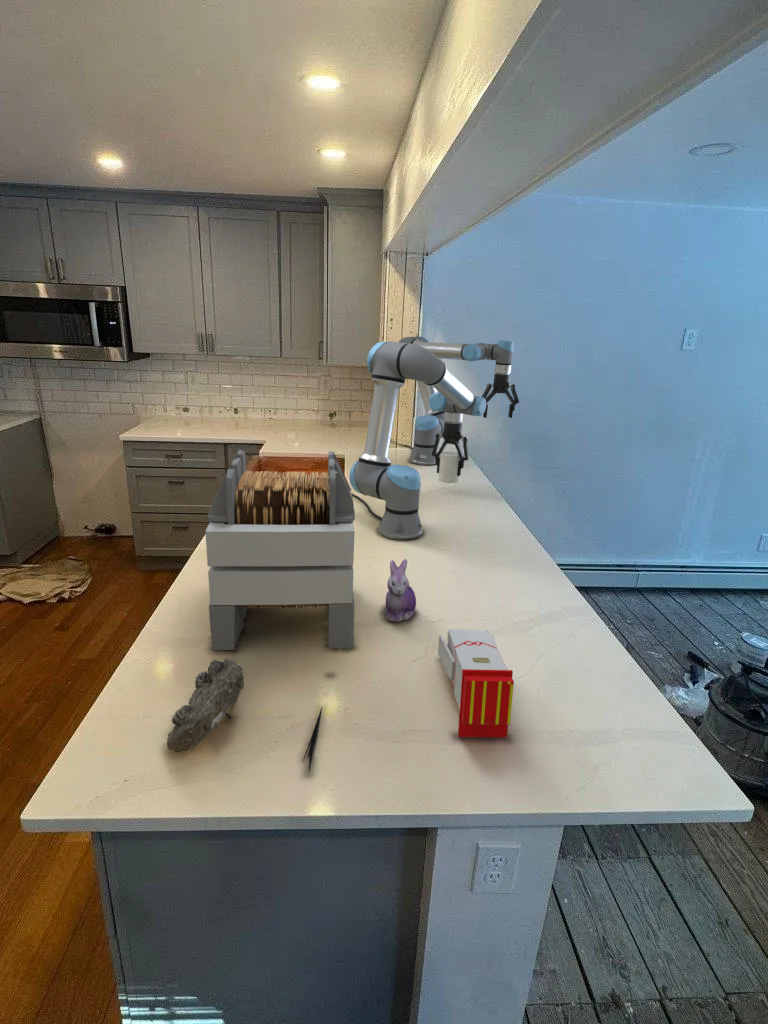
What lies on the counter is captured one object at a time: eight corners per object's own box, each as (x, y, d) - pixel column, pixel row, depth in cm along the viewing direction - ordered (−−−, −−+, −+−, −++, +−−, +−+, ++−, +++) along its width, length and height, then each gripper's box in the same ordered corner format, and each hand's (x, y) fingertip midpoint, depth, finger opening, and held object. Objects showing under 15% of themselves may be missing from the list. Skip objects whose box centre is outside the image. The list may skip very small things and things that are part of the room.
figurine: (392, 627, 141) (395, 572, 136) (374, 608, 149) (376, 556, 144) (425, 619, 145) (429, 566, 140) (405, 601, 154) (408, 550, 149)
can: (460, 479, 250) (462, 453, 246) (454, 484, 242) (457, 457, 238) (441, 476, 253) (443, 450, 249) (435, 481, 245) (437, 454, 241)
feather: (331, 679, 122) (336, 673, 122) (307, 777, 96) (313, 769, 95) (324, 675, 122) (329, 669, 121) (298, 772, 95) (304, 764, 95)
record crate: (231, 583, 159) (223, 441, 145) (347, 582, 163) (350, 443, 149) (209, 653, 127) (196, 479, 114) (354, 649, 131) (359, 481, 117)
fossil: (192, 660, 117) (244, 628, 112) (224, 691, 120) (276, 661, 115) (142, 746, 98) (202, 712, 93) (182, 779, 101) (242, 748, 96)
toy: (488, 613, 130) (523, 677, 101) (484, 667, 133) (517, 744, 104) (435, 612, 130) (455, 676, 101) (432, 666, 133) (451, 743, 103)
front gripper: (480, 423, 238) (474, 475, 246) (431, 418, 246) (427, 468, 253) (476, 426, 232) (470, 479, 239) (426, 420, 239) (422, 472, 246)
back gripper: (481, 374, 268) (476, 418, 275) (529, 375, 274) (523, 418, 281) (475, 372, 275) (471, 415, 282) (522, 373, 281) (517, 416, 288)
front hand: (448, 473), depth 246 cm, fingers closed on can, 9 cm apart
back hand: (497, 417), depth 282 cm, fingers open, 13 cm apart
